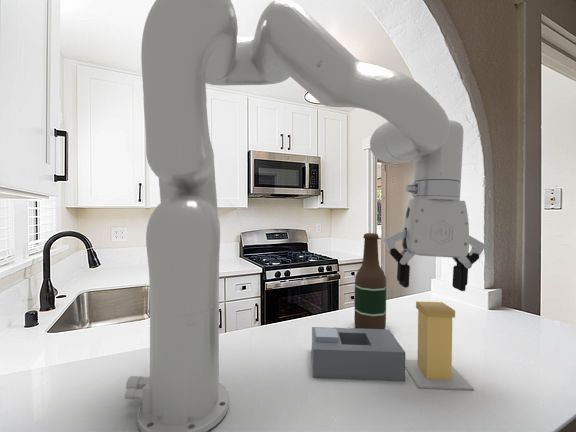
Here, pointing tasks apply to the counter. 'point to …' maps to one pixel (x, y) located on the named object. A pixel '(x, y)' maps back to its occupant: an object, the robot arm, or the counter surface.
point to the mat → (422, 382)
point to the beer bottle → (370, 288)
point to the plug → (435, 339)
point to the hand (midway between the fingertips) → (431, 287)
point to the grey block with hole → (357, 354)
